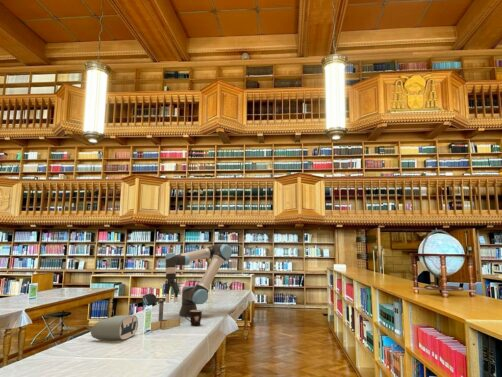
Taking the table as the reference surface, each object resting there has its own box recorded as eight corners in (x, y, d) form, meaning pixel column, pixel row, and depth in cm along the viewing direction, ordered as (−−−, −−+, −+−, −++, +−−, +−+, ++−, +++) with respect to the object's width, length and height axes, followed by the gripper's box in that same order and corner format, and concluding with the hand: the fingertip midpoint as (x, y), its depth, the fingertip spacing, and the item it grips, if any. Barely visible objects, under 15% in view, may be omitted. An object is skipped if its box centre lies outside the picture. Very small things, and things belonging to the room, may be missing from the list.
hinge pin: (161, 323, 274) (162, 299, 276) (164, 324, 271) (165, 299, 273) (156, 324, 271) (157, 299, 273) (159, 325, 268) (160, 300, 271)
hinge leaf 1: (165, 326, 262) (165, 319, 263) (170, 327, 258) (170, 320, 259) (144, 330, 250) (144, 322, 251) (149, 331, 246) (149, 324, 247)
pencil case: (119, 343, 217) (119, 319, 219) (89, 342, 221) (90, 319, 223) (137, 334, 238) (138, 313, 240) (110, 334, 242) (111, 313, 244)
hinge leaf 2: (177, 324, 269) (177, 317, 270) (182, 326, 265) (182, 318, 266) (157, 328, 258) (157, 320, 258) (162, 329, 253) (162, 321, 254)
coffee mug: (202, 324, 272) (203, 309, 274) (200, 326, 264) (200, 312, 266) (187, 323, 274) (187, 309, 275) (183, 326, 265) (184, 311, 267)
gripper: (159, 275, 293) (159, 303, 287) (174, 272, 275) (174, 302, 269) (167, 274, 298) (168, 302, 292) (183, 271, 279) (184, 301, 273)
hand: (171, 302), depth 280 cm, fingers open, 13 cm apart
